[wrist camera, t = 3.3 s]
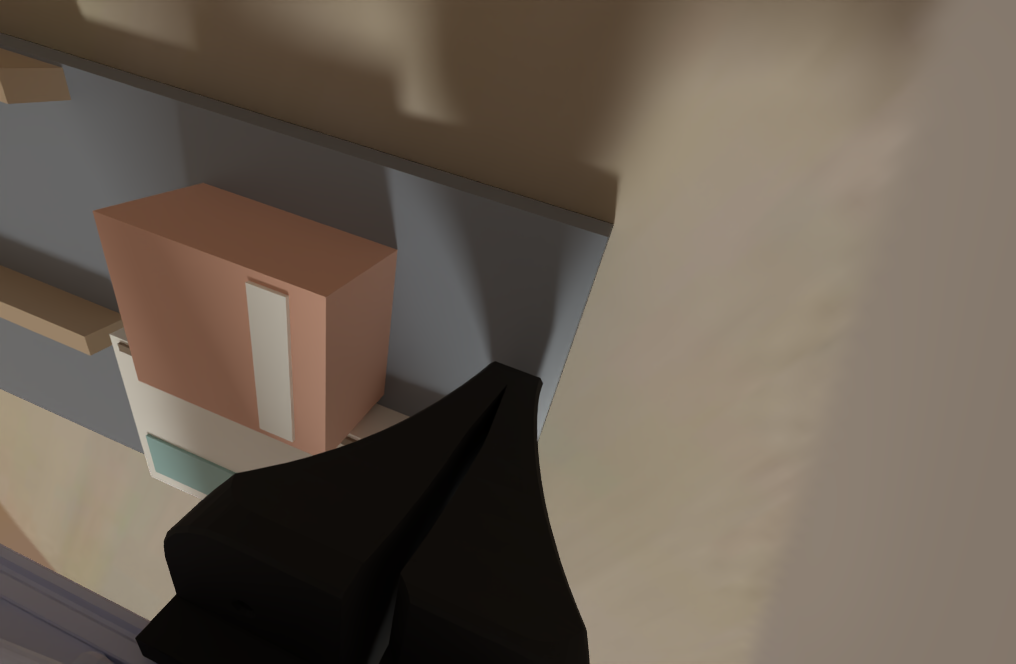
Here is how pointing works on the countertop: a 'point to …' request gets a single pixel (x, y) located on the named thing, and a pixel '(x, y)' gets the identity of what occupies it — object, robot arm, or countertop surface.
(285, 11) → the countertop surface
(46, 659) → the robot arm
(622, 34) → the countertop surface
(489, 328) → the board
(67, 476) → the countertop surface
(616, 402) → the countertop surface
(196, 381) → the pink carton
